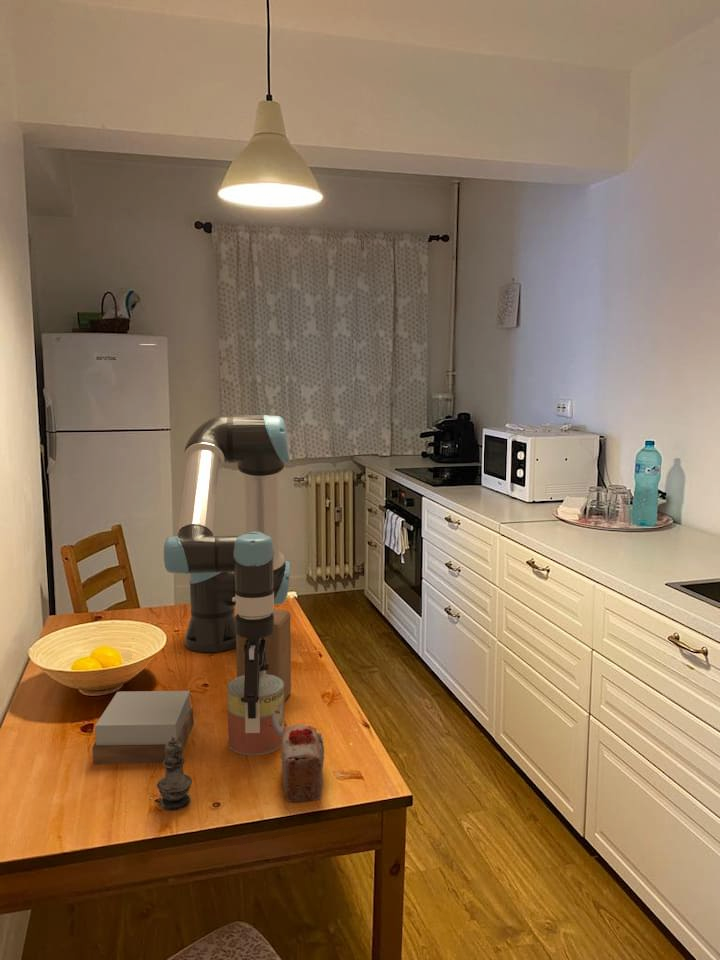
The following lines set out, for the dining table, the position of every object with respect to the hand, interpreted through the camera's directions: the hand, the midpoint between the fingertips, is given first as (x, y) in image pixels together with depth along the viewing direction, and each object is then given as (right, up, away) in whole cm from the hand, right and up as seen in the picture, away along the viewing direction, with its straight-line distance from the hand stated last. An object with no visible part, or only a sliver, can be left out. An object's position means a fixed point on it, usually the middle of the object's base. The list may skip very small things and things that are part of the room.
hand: (256, 716), depth 150 cm
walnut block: (-22, -6, 0) cm, 23 cm away
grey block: (-22, -2, 0) cm, 22 cm away
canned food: (0, -6, +1) cm, 6 cm away
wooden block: (-1, -3, +20) cm, 20 cm away
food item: (+10, -8, -13) cm, 19 cm away
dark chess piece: (-11, -9, -20) cm, 25 cm away
